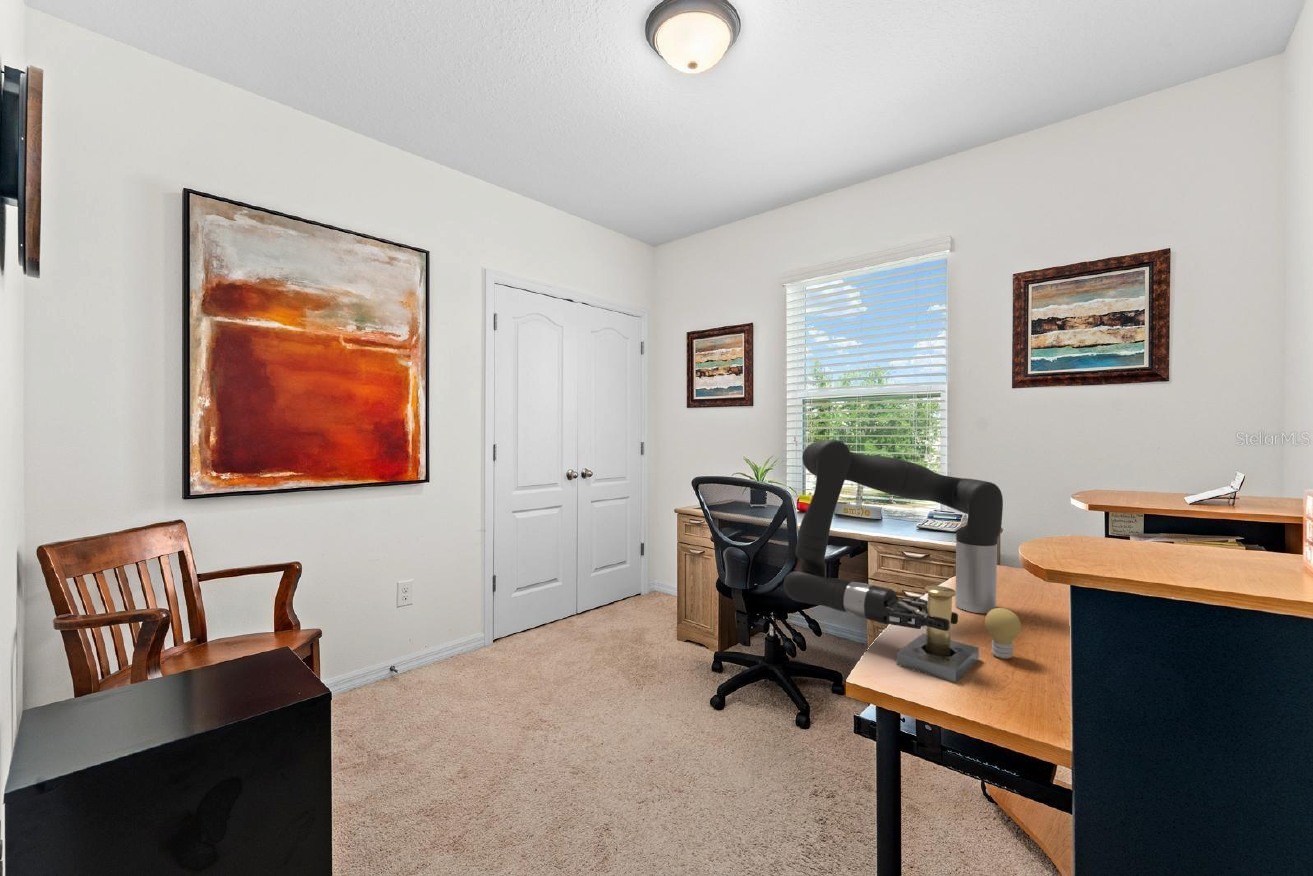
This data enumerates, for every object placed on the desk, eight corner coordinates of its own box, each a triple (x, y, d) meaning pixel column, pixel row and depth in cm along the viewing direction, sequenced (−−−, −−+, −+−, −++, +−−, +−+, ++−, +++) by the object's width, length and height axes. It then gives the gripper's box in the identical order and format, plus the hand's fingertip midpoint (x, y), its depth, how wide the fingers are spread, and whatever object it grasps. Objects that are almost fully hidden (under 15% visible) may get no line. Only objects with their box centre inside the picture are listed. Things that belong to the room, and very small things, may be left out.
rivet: (928, 649, 119) (930, 583, 118) (956, 657, 115) (959, 590, 114) (918, 657, 115) (920, 589, 114) (947, 666, 111) (950, 596, 110)
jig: (923, 644, 124) (923, 633, 124) (978, 659, 116) (978, 647, 116) (896, 664, 114) (896, 652, 114) (955, 682, 106) (955, 670, 106)
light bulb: (1020, 665, 113) (1021, 616, 113) (983, 658, 117) (984, 611, 116) (1020, 654, 119) (1020, 607, 118) (984, 647, 122) (985, 602, 122)
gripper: (855, 592, 120) (940, 613, 108) (884, 578, 130) (965, 595, 118) (854, 627, 120) (940, 651, 108) (883, 610, 130) (964, 630, 118)
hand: (952, 622), depth 113 cm, fingers closed on rivet, 4 cm apart
